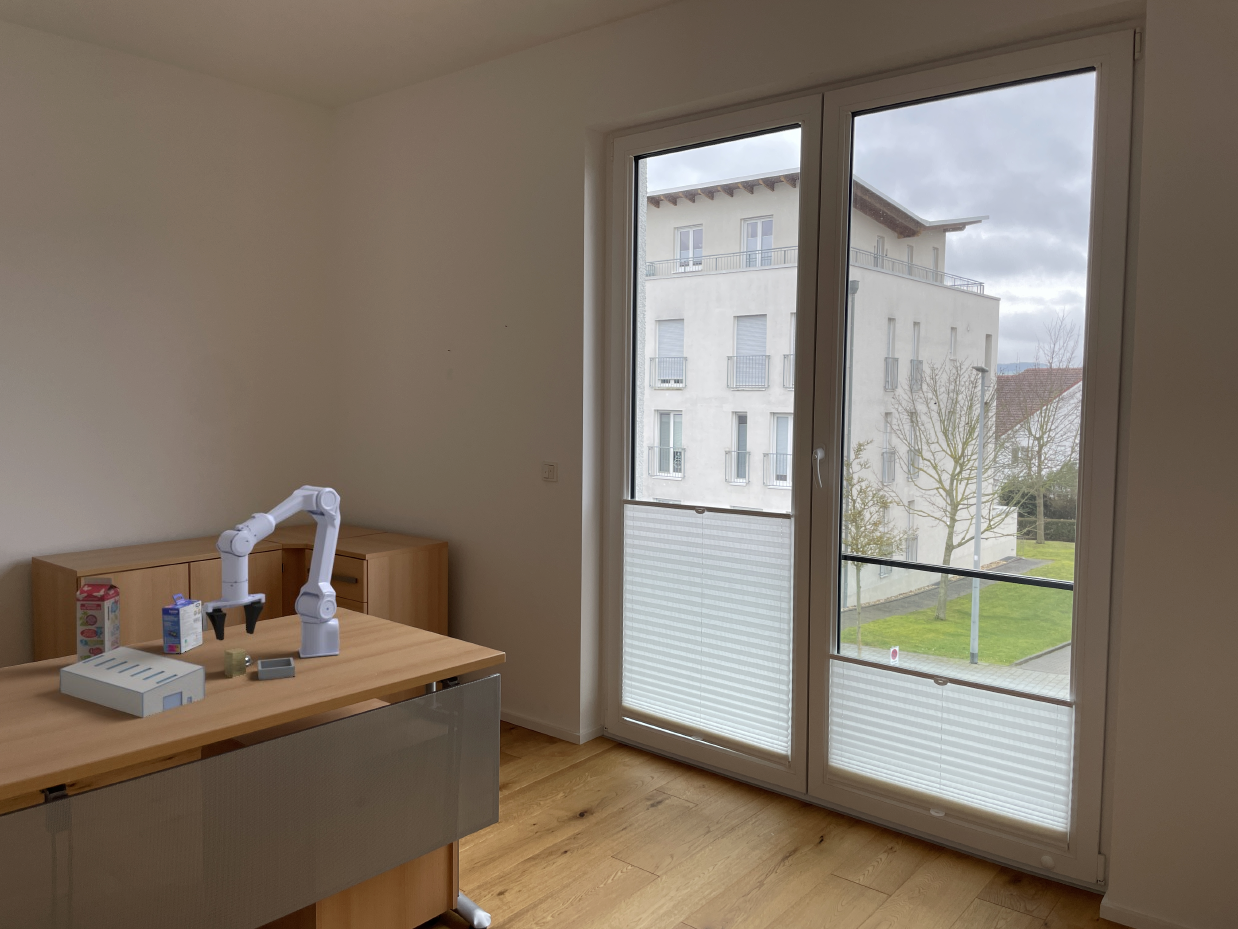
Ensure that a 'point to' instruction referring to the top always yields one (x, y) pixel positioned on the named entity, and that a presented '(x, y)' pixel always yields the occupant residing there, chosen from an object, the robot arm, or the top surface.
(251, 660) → the bearing
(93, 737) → the top surface
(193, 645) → the ink cartridge box
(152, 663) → the warehouse
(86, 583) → the juice carton
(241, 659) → the block
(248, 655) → the crank
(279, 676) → the tray
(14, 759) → the top surface
